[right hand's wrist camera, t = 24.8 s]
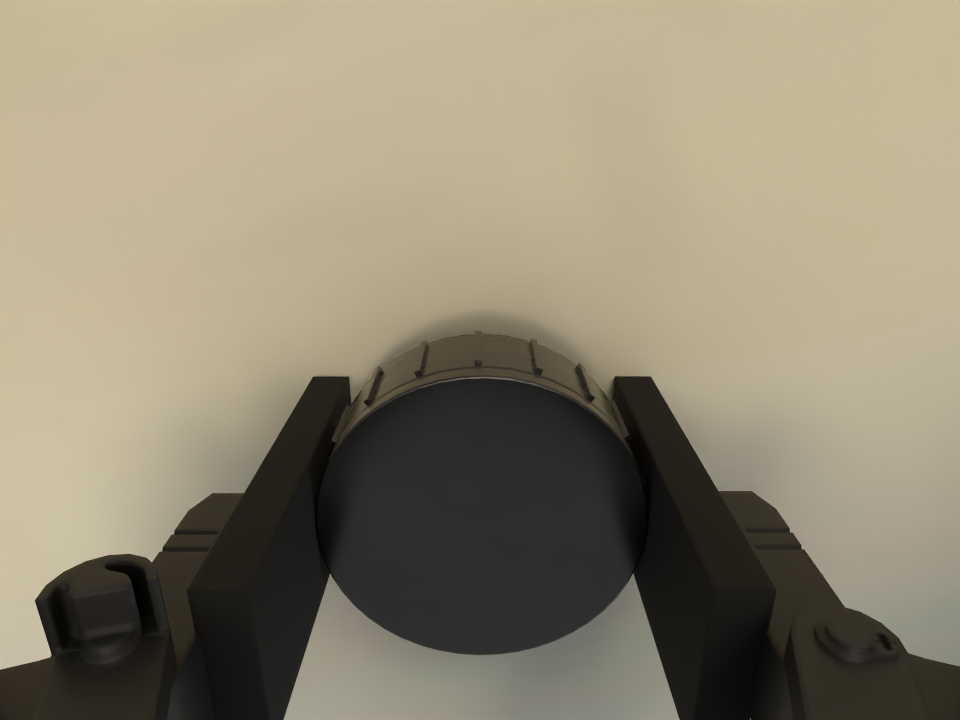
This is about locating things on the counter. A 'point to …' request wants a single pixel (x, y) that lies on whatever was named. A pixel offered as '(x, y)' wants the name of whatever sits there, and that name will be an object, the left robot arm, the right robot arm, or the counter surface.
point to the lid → (481, 497)
